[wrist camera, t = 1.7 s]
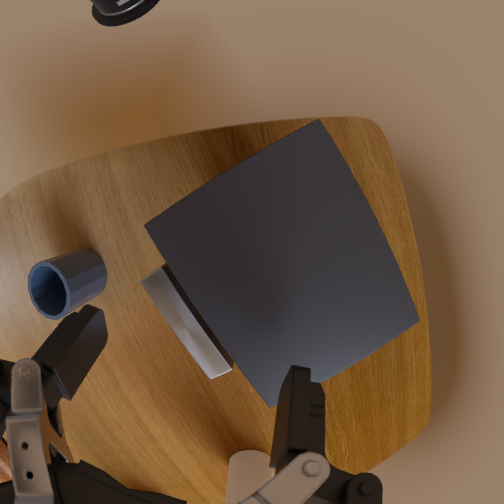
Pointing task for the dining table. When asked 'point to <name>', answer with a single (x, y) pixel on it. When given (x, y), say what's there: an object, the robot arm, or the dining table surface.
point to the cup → (66, 282)
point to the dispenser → (287, 262)
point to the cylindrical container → (247, 474)
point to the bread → (4, 463)
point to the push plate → (187, 322)
